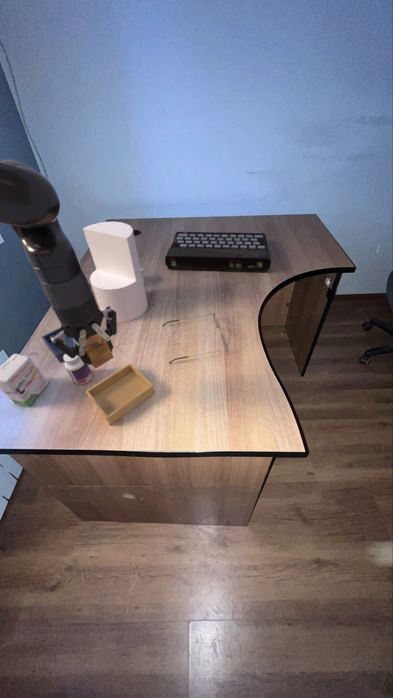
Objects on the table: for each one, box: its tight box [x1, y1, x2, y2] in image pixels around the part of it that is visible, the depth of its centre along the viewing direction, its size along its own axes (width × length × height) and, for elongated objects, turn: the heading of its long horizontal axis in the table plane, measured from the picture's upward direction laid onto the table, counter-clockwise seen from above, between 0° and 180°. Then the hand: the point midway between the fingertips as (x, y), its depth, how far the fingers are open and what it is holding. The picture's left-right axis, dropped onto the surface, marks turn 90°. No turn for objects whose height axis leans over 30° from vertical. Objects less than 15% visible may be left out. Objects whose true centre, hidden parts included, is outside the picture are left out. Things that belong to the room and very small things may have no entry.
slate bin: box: [41, 327, 74, 363], centre depth 86 cm, size 11×11×4 cm
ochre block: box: [85, 334, 114, 369], centre depth 59 cm, size 5×5×5 cm
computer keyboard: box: [164, 231, 272, 273], centre depth 123 cm, size 45×28×7 cm, turn 84°
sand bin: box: [85, 362, 156, 426], centre depth 72 cm, size 14×11×4 cm
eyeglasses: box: [161, 312, 229, 364], centre depth 86 cm, size 18×19×4 cm
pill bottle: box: [63, 354, 93, 385], centre depth 74 cm, size 5×5×10 cm
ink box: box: [0, 353, 49, 408], centre depth 70 cm, size 8×5×12 cm, turn 164°
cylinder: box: [82, 221, 149, 323], centre depth 90 cm, size 17×17×28 cm
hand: (98, 356), depth 60 cm, fingers closed on ochre block, 4 cm apart
